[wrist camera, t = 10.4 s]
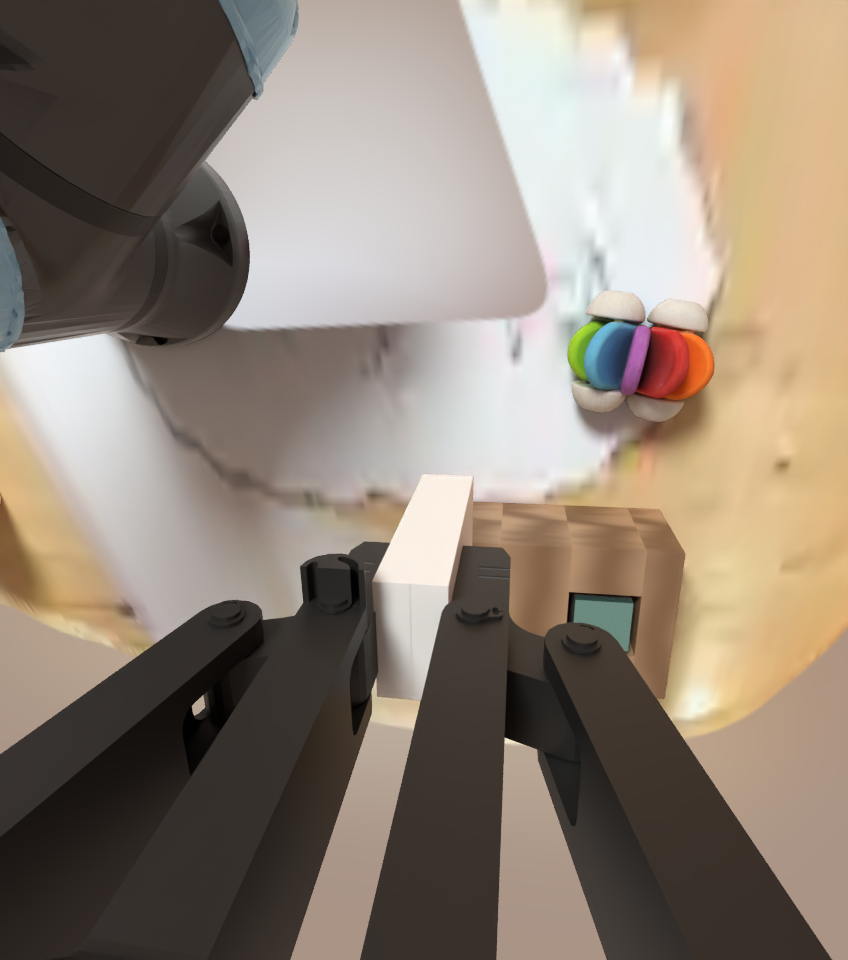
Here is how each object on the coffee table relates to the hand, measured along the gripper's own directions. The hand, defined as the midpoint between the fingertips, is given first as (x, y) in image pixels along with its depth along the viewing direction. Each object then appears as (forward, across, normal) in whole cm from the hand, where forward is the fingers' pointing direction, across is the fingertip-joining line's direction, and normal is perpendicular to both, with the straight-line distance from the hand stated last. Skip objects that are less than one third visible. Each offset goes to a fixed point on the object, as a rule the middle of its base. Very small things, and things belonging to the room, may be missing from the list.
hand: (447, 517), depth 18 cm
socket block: (+30, +4, -17) cm, 35 cm away
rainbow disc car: (+31, +10, +1) cm, 32 cm away
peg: (+30, +9, -17) cm, 36 cm away
